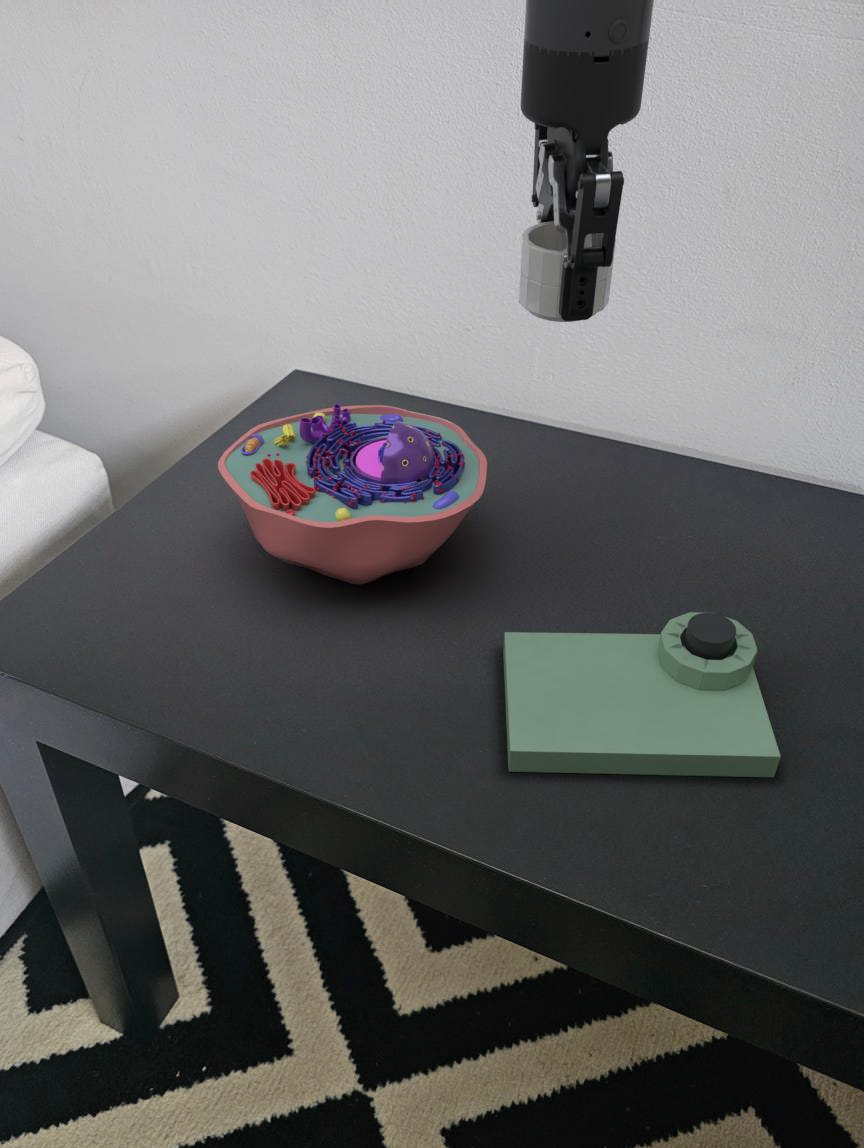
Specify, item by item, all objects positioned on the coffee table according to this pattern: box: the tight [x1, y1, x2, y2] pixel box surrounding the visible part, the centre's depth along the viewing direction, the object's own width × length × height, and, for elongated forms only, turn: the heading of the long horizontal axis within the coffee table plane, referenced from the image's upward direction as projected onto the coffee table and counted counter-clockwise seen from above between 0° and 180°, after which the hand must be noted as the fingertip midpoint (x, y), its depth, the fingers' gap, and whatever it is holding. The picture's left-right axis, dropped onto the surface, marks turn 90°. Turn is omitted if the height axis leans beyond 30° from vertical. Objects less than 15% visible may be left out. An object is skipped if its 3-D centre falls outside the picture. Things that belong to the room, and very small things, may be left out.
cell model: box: [217, 403, 488, 586], centre depth 78 cm, size 17×20×11 cm
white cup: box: [518, 221, 617, 323], centre depth 73 cm, size 6×6×5 cm
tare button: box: [684, 612, 736, 660], centre depth 67 cm, size 3×3×2 cm
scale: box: [502, 611, 782, 778], centre depth 67 cm, size 16×12×4 cm
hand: (563, 296), depth 74 cm, fingers closed on white cup, 6 cm apart
